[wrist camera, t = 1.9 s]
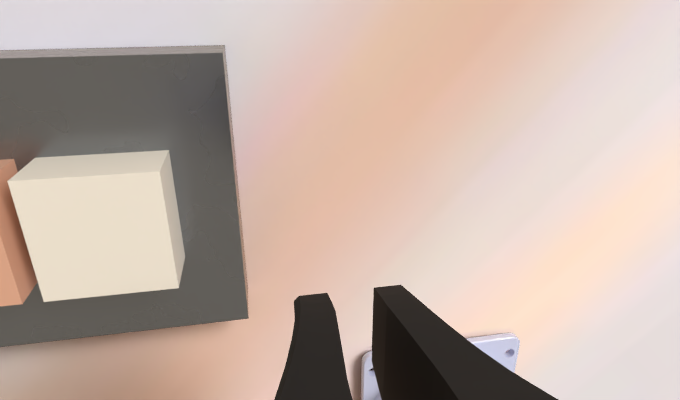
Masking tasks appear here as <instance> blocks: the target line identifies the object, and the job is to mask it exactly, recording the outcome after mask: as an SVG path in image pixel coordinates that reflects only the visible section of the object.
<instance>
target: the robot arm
mask: <svg viewBox="0 0 680 400" xmlns="http://www.w3.org/2000/svg"><path fill="white" fill-rule="evenodd" d="M294 310H295V322H294V330H293V336H292V341H291V345H290V349H289V353H288V358H287V362H286V365H285V369H284V372H283V375H282V378H281V381H280V384H279V387H278V390H277V394H276V397H275V399H274V400H353V399H352V396H351V393H350V389H349V384H348V380H347V375H346V369H345V364H344V358H343V352H342V346H341V340H340V334H339V329H338V323H337V317H336V312H335V309H334V307H333V304H332V302H331V300H330V298H329V296H328V294H327V293H322V294H313V295H304V296H299V297H298V298H297V299H296V300H295V301H294ZM519 345H520V341H519V339H518V338H517V336H516V335H515V334H513V333H504V334H497V335H489V336H481V337H474V338H464V337H463V336H462V335H460V334H459V333H458V332H457V331H455V330H454V329H453V328H452V327H450V326H449V325H448V324H447V323H445V322H444V321H443V320H442V319H441V318H439V317H438V316H437V315H436V314H435V313H433V312H432V311H431V310H430V309H429V308H427V307H426V306H425V305H424V304H423V303H422V302H420V301H419V300H418V299H417V298H416V297H415V296H413V295H412V294H411V293H410V292H409V291H408V290H406V289H405V288H404V287H403V286H401V285H396V286H386V287H377V288H374V301H373V334H372V351H370V352H367V353H366V354H365V355H364V356H363V358H362V374H361V400H558V399H556V398H554V397H553V396H551V395H549V394H548V393H546V392H544V391H543V390H541V389H539V388H538V387H536V386H534V385H533V384H531V383H529V382H528V381H526V380H524V379H523V378H521V377H520V376H518V375H517V374H515V373H514V372H515V366H516V361H517V356H518V350H519ZM509 349H510V350H509ZM507 350H508V351H507ZM506 351H507V352H506ZM372 368H374V370H372V371H369V370H370V369H372Z"/></svg>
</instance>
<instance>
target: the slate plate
mask: <svg viewBox="0 0 680 400" xmlns="http://www.w3.org/2000/svg"><path fill="white" fill-rule="evenodd" d="M162 150H169V154H170V160H171V167H172V174H173V180H174V187H175V193H176V200H177V206H178V213H179V220H180V226H181V233H182V239H183V246H184V252H185V260H184V265H183V270H182V275H181V280H180V284H179V288H175V289H166V290H156V291H146V292H136V293H127V294H117V295H107V296H97V297H88V298H78V299H68V300H58V301H48V302H44V301H43V298H42V294H41V291H40V288H39V284H38V282H37V284H36V285H35V287H34V288H33V290H32V291H31V292H30V294H29V295H28V297H27V298H26V300H25V301H24V303H23V304H19V305H9V306H0V347H5V346H13V345H22V344H31V343H39V342H48V341H57V340H65V339H74V338H83V337H92V336H100V335H109V334H118V333H126V332H135V331H144V330H152V329H161V328H170V327H179V326H187V325H196V324H205V323H213V322H222V321H231V320H239V319H248V286H247V276H246V265H245V255H244V244H243V233H242V223H241V212H240V202H239V191H238V181H237V170H236V160H235V149H234V139H233V128H232V118H231V107H230V96H229V86H228V75H227V65H226V54H225V45H214V46H171V47H128V48H85V49H42V50H0V160H4V159H14V161H15V164H16V168H17V171H18V172H19V171H20V170H21V169H22V168H24V167H25V166H26V165H27V164H28V163H29V162H31V161H32V160H33V159H34V158H39V157H57V156H74V155H92V154H109V153H127V152H144V151H162Z"/></svg>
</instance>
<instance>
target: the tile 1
mask: <svg viewBox="0 0 680 400" xmlns="http://www.w3.org/2000/svg"><path fill="white" fill-rule="evenodd" d="M16 173H18V171H17V168H16V164H15V161H14V159H4V160H0V306H9V305H19V304H23V303H24V301H25V300H26V298H27V297H28V295H29V294H30V292H31V291H32V290H33V288H34V287H35V285H36V284H37V282H38V281H37V278H36V274H35V271H34V268H33V265H32V261H31V258H30V255H29V251H28V248H27V245H26V241H25V238H24V235H23V231H22V228H21V225H20V221H19V218H18V215H17V212H16V208H15V205H14V202H13V198H12V195H11V192H10V188H9V185H8V182H7V181H8V180H9V179H11V178H12V177H13V176H14V175H15V174H16Z"/></svg>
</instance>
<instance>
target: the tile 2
mask: <svg viewBox="0 0 680 400" xmlns="http://www.w3.org/2000/svg"><path fill="white" fill-rule="evenodd" d="M7 182H8V185H9V188H10V192H11V195H12V198H13V202H14V205H15V208H16V212H17V215H18V218H19V221H20V225H21V228H22V231H23V235H24V238H25V241H26V245H27V248H28V251H29V255H30V258H31V261H32V265H33V268H34V271H35V274H36V278H37V281H38V284H39V288H40V291H41V294H42V298H43V301H44V302H48V301H58V300H68V299H78V298H88V297H97V296H107V295H117V294H127V293H136V292H146V291H156V290H166V289H175V288H179V284H180V280H181V275H182V270H183V265H184V260H185V252H184V246H183V239H182V233H181V226H180V220H179V213H178V206H177V200H176V193H175V187H174V180H173V174H172V167H171V160H170V154H169V150H162V151H144V152H127V153H109V154H92V155H74V156H57V157H39V158H34V159H33V160H32V161H31V162H29V163H28V164H27V165H26V166H25V167H24V168H22V169H21V170H20V171H19V172H18V173H16V174H15V175H14V176H13V177H12V178H11V179H9V180H8V181H7Z"/></svg>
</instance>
